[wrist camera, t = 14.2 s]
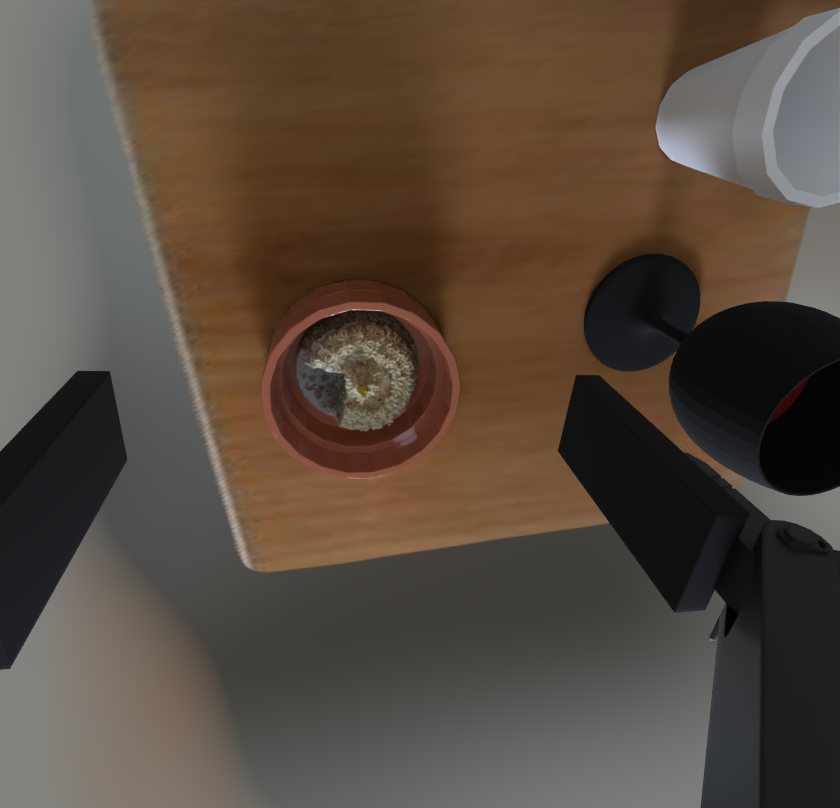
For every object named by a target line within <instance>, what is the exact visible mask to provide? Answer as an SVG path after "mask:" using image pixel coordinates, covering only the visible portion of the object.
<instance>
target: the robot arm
mask: <svg viewBox="0 0 840 808" xmlns="http://www.w3.org/2000/svg"><path fill="white" fill-rule="evenodd" d="M558 452H559V453H560V455H561V456H562V458H563V459H564V460H565V462H566V463H567V464H568V466H569V467H570V469H571V470H572V471H573V473H574V474H575V476H576V477H577V478H578V480H579V481H580V482H581V484H582V485H583V487H584V488H585V489H586V491H587V492H588V494H589V495H590V496H591V498H592V499H593V500H594V502H595V503H596V505H597V506H598V507H599V509H600V510H601V511H602V513H603V514H604V516H605V517H606V518H607V520H608V521H609V523H610V524H611V525H612V527H613V528H614V529H615V531H616V532H617V534H618V535H619V536H620V538H621V539H622V541H623V542H624V543H625V545H626V546H627V547H628V549H629V550H630V552H631V553H632V554H633V556H634V557H635V559H636V560H637V561H638V563H639V564H640V565H641V567H642V568H643V570H644V571H645V572H646V574H647V575H648V577H649V578H650V579H651V581H652V582H653V583H654V585H655V586H656V587H657V589H658V590H659V592H660V593H661V594H662V596H663V597H664V599H665V600H666V601H667V603H668V604H669V606H670V607H671V608H672V610H673V611H674V612H675V613H677V612H689V611H701V610H705V609H706V607H707V605H708V603H709V601H710V598H711V596H712V594H713V592H714V590H716V592H717V593H718V594H719V595H720V596H721V598H722V599H723V600H724V601H725V602H726V604H725V606H724V608H723V610H722V612H721V614H720V616H719V618H718V620H717V622H716V625H715V627H714V629H713V631H712V633H711V635H710V637H709V640H711V641H714V640H715V638H716V637H717V636H718V640H717V651H716V660H715V670H714V680H713V690H712V700H711V710H710V720H709V730H708V740H707V750H706V760H705V770H704V780H703V790H702V800H701V808H840V551H836V550H833V548H832V546H831V545H830V544H829V543H827V542H826V541H825V540H824V539H823V538H822V537H821V536H819V535H818V534H816V533H814V532H813V531H811V530H809V529H807V528H805V527H802V526H800V525H798V524H795V523H790V522H786V521H778V520H777V521H776V520H772V521H771V520H770V519H769V518H768V517H766V516H765V515H764V514H763V513H762V512H761V511H760V510H759V509H758V508H756V507H755V506H754V505H753V504H752V503H751V502H750V501H748V500H747V499H746V498H745V497H744V496H743V495H742V494H741V493H739V492H738V491H737V490H736V489H732V485H730V484H729V483H728V482H727V481H726V480H725V479H724V478H722V479H721V476H720V475H719V474H718V473H717V472H716V471H715V470H713V469H712V468H711V467H710V466H709V465H708V464H707V463H705V462H703V461H701V460H699V459H698V458H696V457H694V456H692V455H691V454H689V453H684V452H683V451H681V450H680V449H679V448H678V447H677V446H676V445H675V444H674V443H673V442H672V441H670V440H669V439H668V438H667V437H666V436H665V435H664V434H663V433H662V432H661V431H659V430H658V429H657V428H656V427H655V426H654V425H653V424H652V423H651V422H650V421H648V420H647V419H646V418H645V417H644V416H643V415H642V414H641V413H640V412H639V411H638V410H636V409H635V408H634V407H633V406H632V405H631V404H630V403H629V402H628V401H627V400H625V399H624V398H623V397H622V396H621V395H620V394H619V393H618V392H617V391H616V390H614V389H613V388H612V387H611V386H610V385H609V384H608V383H607V382H606V381H605V380H603V379H602V378H601V377H600V376H599V375H576V378H575V382H574V386H573V390H572V394H571V398H570V403H569V407H568V411H567V415H566V419H565V423H564V428H563V432H562V436H561V440H560V444H559V448H558ZM126 461H127V456H126V451H125V446H124V441H123V435H122V431H121V425H120V420H119V416H118V410H117V405H116V400H115V396H114V390H113V385H112V380H111V375H110V371H77V372H76V373H75V374H74V375H73V376H72V377H71V378H70V379H69V380H68V382H67V383H66V384H65V385H64V386H63V387H62V388H61V389H60V390H59V391H58V392H57V393H56V394H55V395H54V396H53V397H52V398H51V399H50V401H48V403H46V404H45V405H44V407H42V409H41V410H40V411H39V412H38V413H37V414H36V415H35V416H34V417H33V418H32V419H31V420H30V421H29V422H28V423H27V424H26V425H25V426H24V427H23V428H22V429H21V431H19V433H18V434H17V435H16V436H15V437H14V438H13V439H12V440H11V441H10V442H9V443H8V444H7V445H6V446H5V447H4V448H3V449H2V450H1V451H0V670H1V669H10V668H11V666H12V664H13V662H14V660H15V659H16V657H17V655H18V653H19V652H20V650H21V648H22V646H23V645H24V643H25V641H26V639H27V637H28V636H29V634H30V632H31V630H32V629H33V627H34V625H35V623H36V621H37V619H38V618H39V616H40V614H41V613H42V611H43V609H44V607H45V605H46V604H47V602H48V600H49V598H50V597H51V595H52V593H53V591H54V589H55V587H56V586H57V584H58V582H59V580H60V579H61V577H62V575H63V573H64V572H65V570H66V568H67V566H68V564H69V563H70V561H71V559H72V557H73V556H74V554H75V552H76V550H77V548H78V547H79V545H80V543H81V541H82V540H83V538H84V536H85V534H86V532H87V531H88V529H89V527H90V525H91V523H92V522H93V520H94V518H95V516H96V515H97V513H98V511H99V509H100V507H101V506H102V504H103V502H104V500H105V499H106V497H107V495H108V493H109V491H110V490H111V488H112V486H113V484H114V483H115V481H116V479H117V477H118V475H119V473H120V472H121V470H122V468H123V466H124V465H125V463H126Z"/></svg>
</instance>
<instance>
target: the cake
mask: <svg viewBox="0 0 840 808" xmlns="http://www.w3.org/2000/svg"><path fill="white" fill-rule="evenodd" d="M418 361H419V357H418V355H417V347H416V345H415V344H414V339H413V338H412V337H411V335H410V333H409V332H408V330H406V329H405V328H404V327H403V324H402V323H400V322H398V321H397V320H396V319H395V318H394V317H393V316H389V315H387V314H386V313H384V312H380V311H368V310H350V311H346V312H343V313H339V314H336V315H332V316H329V317H325V318H323V319H320V320H319V321H317V323H316V324H315V325H314V326H312V327H311V328H310V329H309V332H308V333H307V334H305V336H304V337H303V340H302V342H301V343H300V345H299V351H298V353H297V355H296V364H295V368H296V369H295V370H296V378H297V380H298V383H299V384H298V386H299V387H300V389H301V390H302V393H303V395H304V396H305V397H306V398H307V399H308V401H309V402H310V404H312V405H313V406H315V408H316V409H317V410H319V411H322V412H323V413H324V414H326V415H328V416H332V417H334V418H335V420H336V421H338V423H337V424H338V425H339V426H340V427H342V428H347V429H349V430H352V429H353V430H355V429H358V430H360V432H361V431H363V430H364V431H368V430H369V429H372V430H373V431H374V430H375V429H380V428H382V427H383V426H384V425H386V424H388V423H390V422H391V423H392V422H393V421H394V420H393V418H396V417H398V414H400V413H401V411H402V409H403V408H404V407H405V406H406V405H407V403H409V400H410V397H411V396H412V393H413V391H414V390H415V387H416V384H417V383H415V380H416V379H418V376H417V371H418V369H419V365H418ZM360 385H362V386H360Z"/></svg>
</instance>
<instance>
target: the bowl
mask: <svg viewBox="0 0 840 808" xmlns="http://www.w3.org/2000/svg"><path fill="white" fill-rule="evenodd" d="M350 310H368V311H380V312H384V313H386V314H387V315H389V316H393V317H394V318H395V319H396V320H397V321H398V322H400V323H402V324H403V327H404V328H405V329H406V330H408V332H409V333H410V335H411V337H412V338H413V339H414V344H415V345H416V347H417V355H418V357H419V361H418V365H419V369H418V371H417V376H418V379H416V380H415V383H417V384H416V387H415V390H414V391H413V393H412V396H411V397H410V400H409V403H407V405H406V406H405V407H404V408H403V409H402V411H401V413H400V414H398V417H396V418H393V420H394V421H393V422H392V423H391V422H390V423H388V424H386V425H384V426H383V427H382V428H380V429H375V430H374V431H373V430H372V429H369V430H368V431H364V430H363V431H361V432H360V430H358V429H355V430H353V429H352V430H349V429H347V428H342V427H340V426H339V425H338V424H337V423H338V421H336V420H335V418H334V417H332V416H328V415H326V414H324V413H323V412H322V411H319V410H317V409H316V408H315V406H313V405H312V404H310V402H309V401H308V399H307V398H306V397H305V396H304V395H303V393H302V390H301V389H300V387H299V386H298V384H299V383H298V380H297V378H296V370H295V369H296V368H295V364H296V355H297V353H298V351H299V345H300V343H301V342H302V340H303V337H304V336H305V334H307V333H308V332H309V329H310V328H311V327H312V326H314V325H315V324H316V323H317V321H319V320H320V319H323V318H325V317H329V316H332V315H336V314H339V313H343V312H346V311H350ZM360 386H362V385H360ZM459 392H460V379H459V374H458V369H457V365H456V360H455V357H454V355H453V353H452V351H451V349H450V348H449V346H448V344H447V342H446V341H445V339H444V337H443V335H442V334H441V332H440V330H439V329H438V327H437V326H436V324H435V322H434V321H433V319H432V318H431V316H430V314H429V313H428V311H427V310H426V308H425V307H423V306H422V305H421V304H420V303H418V302H417V301H416V300H415V299H413V298H412V297H411V296H410V295H408V294H407V293H406V292H404V291H402V290H400V289H397V288H394V287H391V286H389V285H386V284H383V283H381V282H378V281H377V282H376V281H360V280H344V281H341V282H337V283H333V284H330V285H326V286H323V287H319V288H318V289H315V290H314V291H312V292H311V293H309V294H308V295H306V296H305V297H303V298H302V299H300V300H299V301H297V302H296V303H294V304H293V305H292V306H291V307H290V309H289V310H288V311H287V313H286V314H285V315H284V317H283V318H282V319H281V321H280V322H279V323H278V324H277V326H276V328H275V330H274V333H273V337H272V340H271V343H270V346H269V349H268V353H267V357H266V362H265V366H264V371H263V375H262V380H261V395H262V411H263V414H264V416H265V418H266V421H267V423H268V425H269V428H270V430H271V432H272V434H273V437H274V438H275V439H276V440H277V441H278V442H279V443H280V444H281V445H282V447H283V448H284V449H285V450H286V451H287V452H288V453H289V454H290V455H291V456H292V457H293V458H294V459H296V460H297V461H299V462H301V463H303V464H304V465H306V466H308V467H310V468H312V469H313V470H315V471H317V472H320V473H324V474H328V475H333V476H337V477H341V478H346V479H356V478H376V477H379V476H383V475H386V474H390V473H393V472H397V471H400V470H403V469H404V468H406V467H408V466H409V465H411V464H413V463H414V462H416V461H418V460H419V459H421V458H423V457H424V456H426V455H427V454H428V453H429V452H430V451H431V450H432V449H433V448H434V447H435V446H436V445H437V443H438V442H439V441H440V440H441V439H442V438H443V437H444V436H445V434H446V432H447V430H448V428H449V426H450V424H451V422H452V420H453V418H454V416H455V414H456V412H457V407H458V400H459Z"/></svg>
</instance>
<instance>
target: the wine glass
mask: <svg viewBox="0 0 840 808" xmlns="http://www.w3.org/2000/svg"><path fill="white" fill-rule="evenodd" d="M699 307H700V291H699V286H698V283H697V280H696V278H695V276H694V274H693V272H692V271H691V270H690V269H689V268H688V267H687V266H686V265H685V264H684V263H682V262H681V261H680V260H677V259H675V258H673V257H670V256H666V255H662V254H649V255H642V256H639V257H636V258H633V259H631V260H628V261H626V262H624V263H623V264H621V265H619V266H618V267H616V268H615V269H614V270H613V271H611V272H610V273H609V274H608V275H607V276H606V277H605V278H604V279H603V280H602V281H601V282H600V284H599V285H598V287H597V288H596V289H595V291H594V293H593V295H592V297H591V299H590V301H589V303H588V306H587V309H586V313H585V318H584V333H585V338H586V342H587V345H588V347H589V349H590V351H591V352H592V353H593V355H594V356H595V357H596V358H597V359H598V360H599V361H600V362H601V363H603V364H604V365H606V366H608V367H610V368H613V369H615V370H620V371H638V370H643V369H646V368H650V367H652V366H654V365H657V364H659V363H660V362H662V361H664V360H665V359H667V358H668V357H669V356H671V355H672V354H673V353H674V352H675V351H676V350H677V349H678V350H677V352H676V354H675V356H674V358H673V362H672V365H671V369H670V376H669V393H670V398H671V404H672V407H673V410H674V412H675V414H676V417H677V419H678V421H679V423H680V424H681V426H682V427H683V429H684V430H685V431H686V433H687V434H688V436H689V437H690V438H691V439H692V440H693V441H694V443H695V444H697V445H698V446H699V447H700V448H701V449H702V450H703V451H704V452H706V453H707V454H708V455H709V456H710V457H711V458H713V459H714V460H716V461H717V462H718V463H720V464H722V465H723V466H725V467H727V468H728V469H730V470H732V471H734V472H735V473H737V474H739V475H741V476H743V477H745V478H747V479H749V480H751V481H753V482H755V483H758V484H760V485H763V486H765V487H767V488H770V489H773V490H776V491H778V492H781V493H784V494H788V495H796V496H805V495H814V494H819V493H823V492H826V491H829V490H832V489H835V488H837V487H840V318H838V317H836V316H833V315H831V314H829V313H827V312H824V311H821V310H819V309H816V308H812V307H808V306H803V305H799V304H795V303H789V302H769V301H764V302H755V303H747V304H742V305H739V306H735V307H732V308H729V309H726V310H724V311H721V312H719V313H717V314H715V315H713V316H711V317H710V318H708V319H706V320H705V321H703V322H702V323H701V324H699V325H698V326H697V327H696V328H694V329H693V327H694V325H695V323H696V320H697V316H698V313H699ZM692 329H693V330H692Z"/></svg>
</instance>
